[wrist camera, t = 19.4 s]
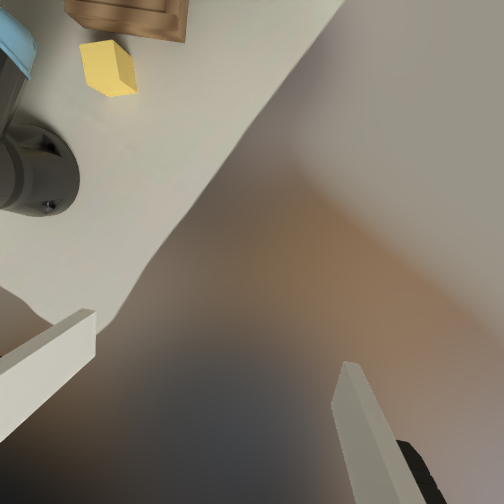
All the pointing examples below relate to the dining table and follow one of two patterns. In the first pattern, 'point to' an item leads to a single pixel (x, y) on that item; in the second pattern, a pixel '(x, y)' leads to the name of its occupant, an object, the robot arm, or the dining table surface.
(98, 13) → the walnut tray
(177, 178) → the dining table surface
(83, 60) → the mustard cube
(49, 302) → the dining table surface
